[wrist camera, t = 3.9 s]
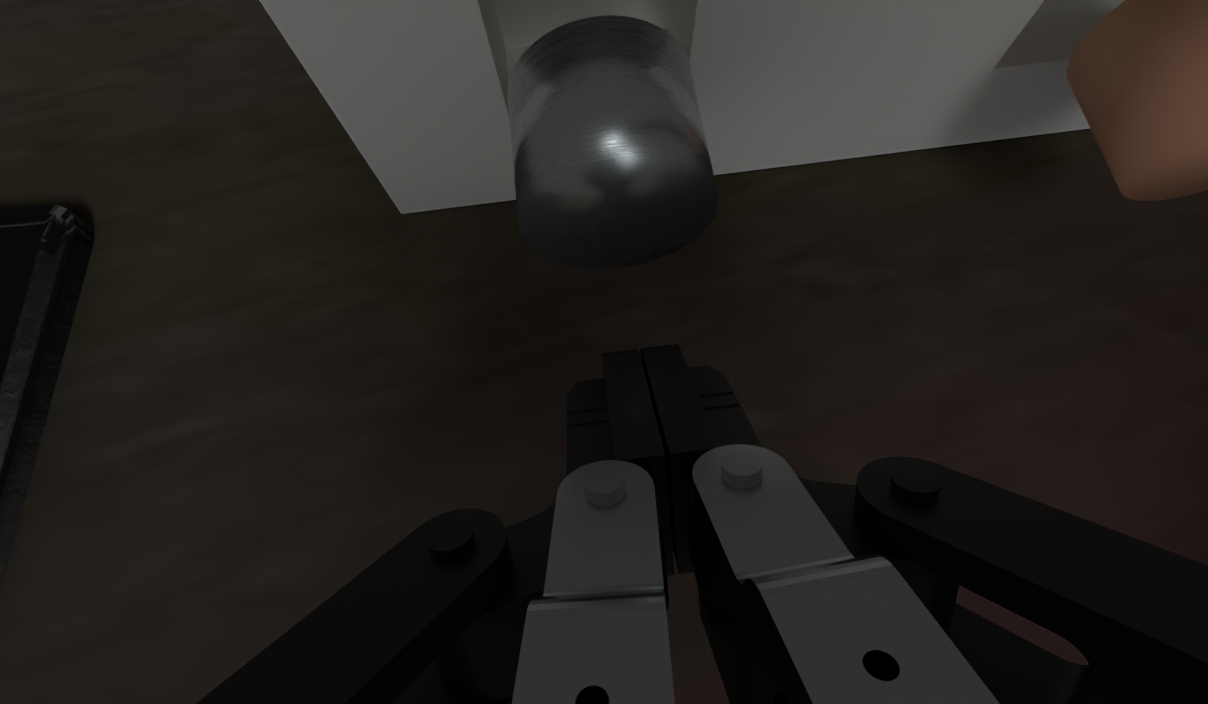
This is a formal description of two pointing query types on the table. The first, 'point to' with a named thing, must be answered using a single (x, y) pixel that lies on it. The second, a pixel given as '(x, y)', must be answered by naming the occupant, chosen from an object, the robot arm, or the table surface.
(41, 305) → the phone
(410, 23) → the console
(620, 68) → the black glossy rounded piece
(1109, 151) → the brown clay cylinder
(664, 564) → the robot arm
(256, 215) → the table surface
